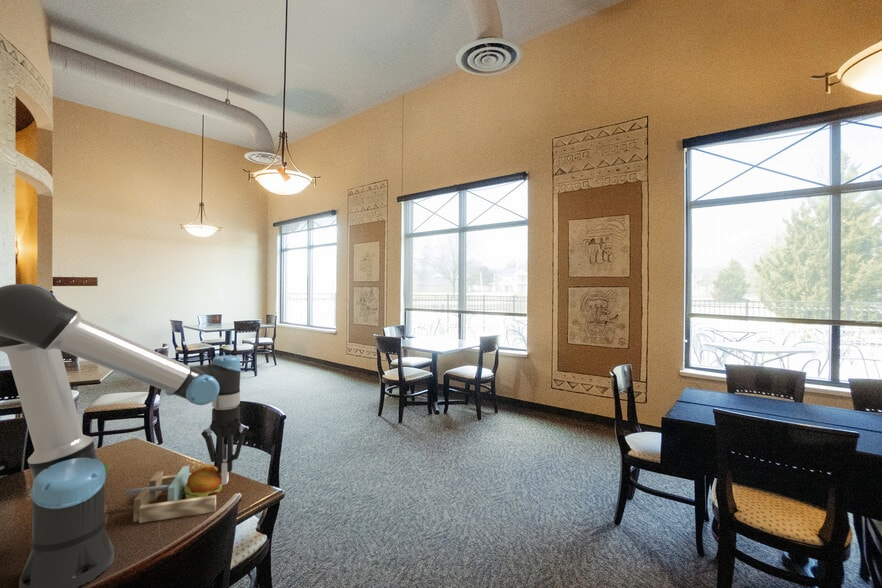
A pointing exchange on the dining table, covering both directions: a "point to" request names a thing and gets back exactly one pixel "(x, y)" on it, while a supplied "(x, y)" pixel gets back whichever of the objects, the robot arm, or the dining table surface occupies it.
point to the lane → (168, 503)
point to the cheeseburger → (203, 482)
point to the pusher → (169, 486)
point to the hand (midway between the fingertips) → (224, 482)
